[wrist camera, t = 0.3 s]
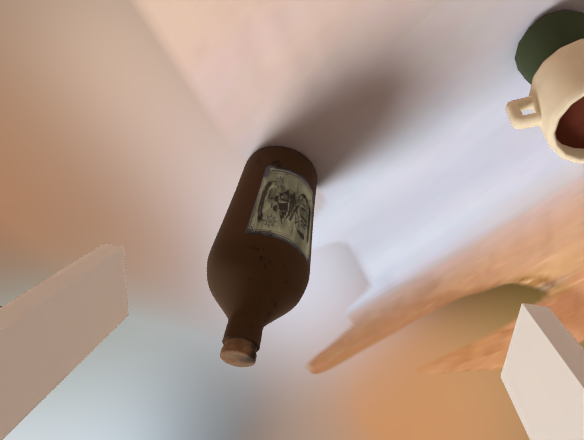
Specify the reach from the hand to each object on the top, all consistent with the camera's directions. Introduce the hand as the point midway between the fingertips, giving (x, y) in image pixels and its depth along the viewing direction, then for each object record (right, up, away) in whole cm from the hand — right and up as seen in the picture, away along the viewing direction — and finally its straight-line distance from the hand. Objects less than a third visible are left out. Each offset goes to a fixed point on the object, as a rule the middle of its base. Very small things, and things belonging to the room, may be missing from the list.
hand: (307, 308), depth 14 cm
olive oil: (-2, +9, +40) cm, 41 cm away
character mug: (+23, +19, +24) cm, 38 cm away
